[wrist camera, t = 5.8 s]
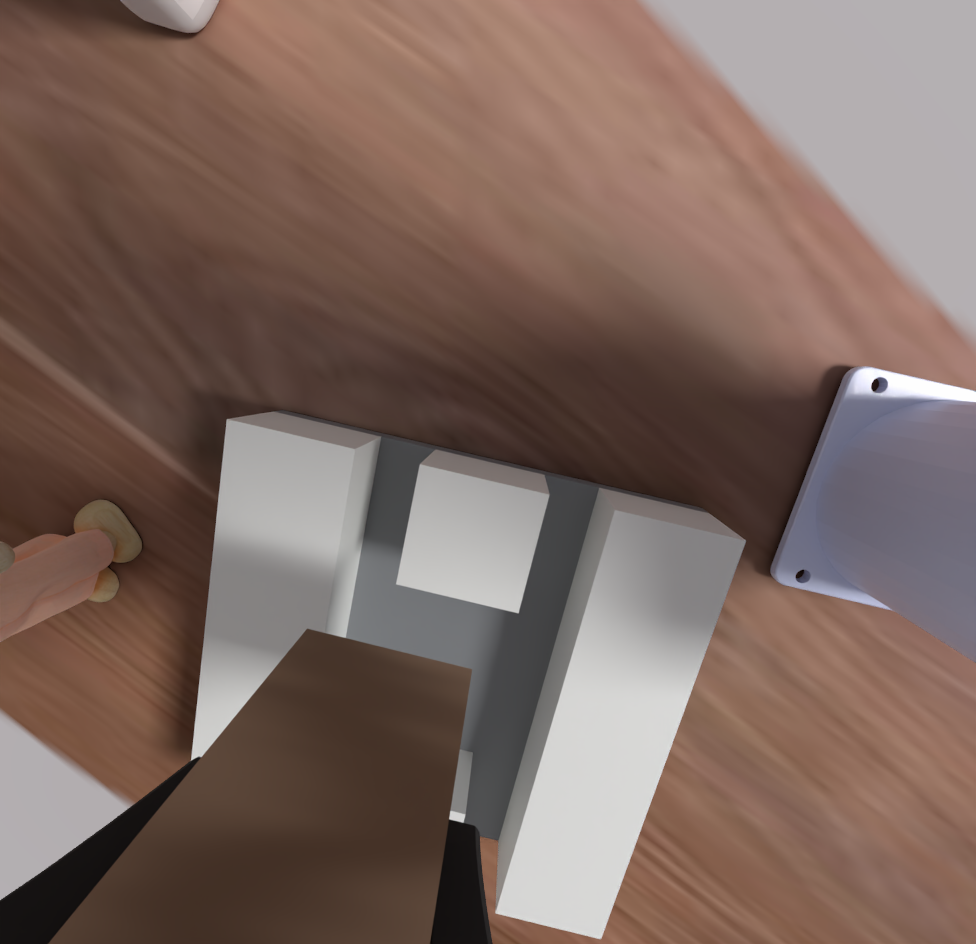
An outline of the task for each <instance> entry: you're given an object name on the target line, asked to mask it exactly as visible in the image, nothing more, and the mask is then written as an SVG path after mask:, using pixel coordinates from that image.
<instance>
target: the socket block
mask: <svg viewBox="0 0 976 944" xmlns="http://www.w3.org/2000/svg"><path fill="white" fill-rule="evenodd" d="M745 543H746V540H745V539H743V538H742V537H741V536H739V535H738V534H737V533H735V532H734V531H732V530H731V529H730V528H728V527H727V526H726V525H724V524H723V523H722V522H720V521H719V520H718V519H716V518H715V517H714V516H712V515H711V514H709V513H708V512H707V511H705V510H704V509H703V508H700V507H696V506H692V505H687V504H683V503H679V502H675V501H670V500H666V499H662V498H657V497H653V496H649V495H645V494H640V493H636V492H632V491H627V490H623V489H619V488H615V487H610V486H606V485H602V484H598V483H593V482H589V481H585V480H580V479H576V478H572V477H568V476H563V475H559V474H555V473H550V472H546V471H542V470H538V469H533V468H529V467H525V466H520V465H516V464H512V463H508V462H503V461H499V460H495V459H490V458H486V457H482V456H478V455H473V454H469V453H465V452H460V451H456V450H452V449H448V448H443V447H439V446H435V445H430V444H426V443H422V442H418V441H413V440H409V439H405V438H401V437H396V436H392V435H388V434H383V433H379V432H375V431H371V430H366V429H362V428H358V427H353V426H349V425H345V424H341V423H336V422H332V421H328V420H323V419H319V418H315V417H311V416H306V415H302V414H298V413H293V412H289V411H285V410H280V411H274V412H267V413H261V414H255V415H249V416H243V417H237V418H230V419H227V422H226V432H225V441H224V451H223V460H222V470H221V479H220V489H219V499H218V508H217V518H216V527H215V537H214V546H213V556H212V565H211V575H210V585H209V594H208V604H207V613H206V623H205V632H204V642H203V652H202V661H201V671H200V680H199V690H198V699H197V709H196V719H195V728H194V738H193V747H192V757H191V760H193V759H195V758H197V757H198V756H199V757H202V756H203V755H204V753H205V752H206V751H207V750H208V749H209V747H210V746H211V745H212V744H213V742H214V741H215V740H216V739H217V738H218V736H219V735H220V734H221V733H222V732H223V730H224V729H225V728H226V727H227V725H228V724H229V723H230V722H231V721H232V719H233V718H234V717H235V716H236V715H237V713H238V712H239V711H240V710H241V708H242V707H243V706H244V705H245V704H246V702H247V701H248V700H249V699H250V697H251V696H252V695H253V694H254V693H255V691H256V690H257V689H258V688H259V687H260V685H261V684H262V683H263V682H264V680H265V679H266V678H267V677H268V676H269V674H270V673H271V672H272V671H273V669H274V668H275V667H276V666H277V665H278V663H279V662H280V661H281V660H282V659H283V657H284V656H285V655H286V654H287V652H288V651H289V650H290V649H291V648H292V646H293V645H294V644H295V643H296V642H297V640H298V639H299V638H300V637H301V635H302V634H303V633H304V632H305V631H306V629H311V630H315V631H319V632H323V633H327V634H331V635H336V636H340V637H344V638H348V639H352V640H356V641H360V642H364V643H368V644H372V645H376V646H380V647H384V648H388V649H392V650H396V651H400V652H404V653H409V654H413V655H417V656H421V657H425V658H429V659H433V660H437V661H441V662H445V663H449V664H453V665H457V666H461V667H465V668H469V669H472V674H471V681H470V687H469V694H468V700H467V707H466V713H465V719H464V726H463V732H462V739H461V745H460V752H459V758H458V765H457V771H456V778H455V784H454V791H453V797H452V804H451V810H450V817H449V819H450V820H454V821H458V822H462V823H466V824H470V825H474V826H476V828H477V829H478V831H479V832H480V836H482V837H486V838H490V839H494V840H498V865H497V889H496V914H501V915H505V916H509V917H513V918H517V919H521V920H525V921H529V922H533V923H537V924H541V925H545V926H549V927H553V928H557V929H561V930H565V931H569V932H573V933H578V934H582V935H586V936H590V937H594V938H598V939H601V937H602V935H603V932H604V929H605V927H606V924H607V921H608V918H609V916H610V913H611V910H612V907H613V905H614V902H615V899H616V896H617V894H618V891H619V888H620V885H621V883H622V880H623V877H624V874H625V872H626V869H627V866H628V863H629V861H630V858H631V855H632V853H633V850H634V847H635V844H636V842H637V839H638V836H639V833H640V831H641V828H642V825H643V822H644V820H645V817H646V814H647V811H648V809H649V806H650V803H651V800H652V798H653V795H654V792H655V789H656V787H657V784H658V781H659V779H660V776H661V773H662V770H663V768H664V765H665V762H666V759H667V757H668V754H669V751H670V748H671V746H672V743H673V740H674V737H675V735H676V732H677V729H678V726H679V724H680V721H681V718H682V715H683V713H684V710H685V707H686V705H687V702H688V699H689V696H690V694H691V691H692V688H693V685H694V683H695V680H696V677H697V674H698V672H699V669H700V666H701V663H702V661H703V658H704V655H705V652H706V650H707V647H708V644H709V642H710V639H711V636H712V633H713V631H714V628H715V625H716V622H717V620H718V617H719V614H720V611H721V609H722V606H723V603H724V600H725V598H726V595H727V592H728V589H729V587H730V584H731V581H732V578H733V576H734V573H735V570H736V568H737V565H738V562H739V559H740V557H741V554H742V551H743V548H744V546H745Z"/></svg>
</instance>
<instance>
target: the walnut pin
mask: <svg viewBox="0 0 976 944" xmlns="http://www.w3.org/2000/svg"><path fill="white" fill-rule="evenodd" d="M471 674H472V669H469V668H465V667H461V666H457V665H453V664H449V663H445V662H441V661H437V660H433V659H429V658H425V657H421V656H417V655H413V654H409V653H404V652H400V651H396V650H392V649H388V648H384V647H380V646H376V645H372V644H368V643H364V642H360V641H356V640H352V639H348V638H344V637H340V636H336V635H331V634H327V633H323V632H319V631H315V630H311V629H306V631H305V632H304V633H303V634H302V635H301V637H300V638H299V639H298V640H297V642H296V643H295V644H294V645H293V646H292V648H291V649H290V650H289V651H288V652H287V654H286V655H285V656H284V657H283V659H282V660H281V661H280V662H279V663H278V665H277V666H276V667H275V668H274V669H273V671H272V672H271V673H270V674H269V676H268V677H267V678H266V679H265V680H264V682H263V683H262V684H261V685H260V687H259V688H258V689H257V690H256V691H255V693H254V694H253V695H252V696H251V697H250V699H249V700H248V701H247V702H246V704H245V705H244V706H243V707H242V708H241V710H240V711H239V712H238V713H237V715H236V716H235V717H234V718H233V719H232V721H231V722H230V723H229V724H228V725H227V727H226V728H225V729H224V730H223V732H222V733H221V734H220V735H219V736H218V738H217V739H216V740H215V741H214V742H213V744H212V745H211V746H210V747H209V749H208V750H207V751H206V752H205V753H204V755H203V756H202V757H201V758H200V760H199V761H198V762H197V763H196V764H195V766H194V767H193V768H192V769H191V770H190V772H189V773H188V774H187V775H186V777H185V778H184V779H183V780H182V781H181V783H180V784H179V785H178V786H177V788H176V789H175V790H174V791H173V792H172V794H171V795H170V796H169V797H168V798H167V800H166V801H165V802H164V803H163V805H162V806H161V807H160V808H159V809H158V811H157V812H156V813H155V814H154V815H153V817H152V818H151V819H150V820H149V822H148V823H147V824H146V825H145V826H144V828H143V829H142V830H141V831H140V833H139V834H138V835H137V836H136V837H135V839H134V840H133V841H132V842H131V843H130V845H129V846H128V847H127V848H126V850H125V851H124V852H123V853H122V854H121V856H120V857H119V858H118V859H117V861H116V862H115V863H114V864H113V865H112V867H111V868H110V869H109V870H108V871H107V873H106V874H105V875H104V876H103V878H102V879H101V880H100V881H99V882H98V884H97V885H96V886H95V887H94V888H93V890H92V891H91V892H90V893H89V895H88V896H87V897H86V898H85V899H84V901H83V902H82V903H81V904H80V906H79V907H78V908H77V909H76V910H75V912H74V913H73V914H72V915H71V916H70V918H69V919H68V920H67V921H66V923H65V924H64V925H63V926H62V927H61V929H60V930H59V931H58V932H57V934H56V935H55V936H54V937H53V938H52V940H51V941H50V942H49V943H48V944H430V940H431V933H432V927H433V920H434V914H435V907H436V901H437V894H438V888H439V881H440V875H441V868H442V862H443V855H444V849H445V842H446V836H447V830H448V823H449V817H450V810H451V804H452V797H453V791H454V784H455V778H456V771H457V765H458V758H459V752H460V745H461V739H462V732H463V726H464V719H465V713H466V707H467V700H468V694H469V687H470V681H471Z"/></svg>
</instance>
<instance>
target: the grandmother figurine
mask: <svg viewBox="0 0 976 944" xmlns="http://www.w3.org/2000/svg"><path fill="white" fill-rule="evenodd" d="M74 530H75V534H73V535H70V536H68V537H65V536H62V535H57V534H44V535H41V536H38V537H36V538H34V539H31V540H29V541H27V542H25V543H23V544H21V545H19V546H17V547H15V548H13V549H12V548H11V547H10V546H9V545H8V544H6V543H4V542H2V541H0V642H2V641H3V640H5V639H6V638H8V637H10V636H12V635H14V634H16V633H18V632H21V631H23V630H25V629H27V628H29V627H31V626H34V625H36V624H38V623H40V622H42V621H43V620H45V619H47V618H49V617H51V616H54V615H56V614H58V613H60V612H62V611H65V610H67V609H69V608H71V607H73V606H75V605H77V604H79V603H80V602H82V601H84V600H86V599H88V600H90V601H94V602H106V601H109V600H111V599H112V598H113V597H114V596H115V594H116V593H117V590H118V588H119V580H118V578H117V575H116V574H115V573H114V572H113V571H112V570H111V569H109V568H108V567H107V566H109V565H110V563H111V562H112V561H113V562H118V563H124V562H128V561H131V560H133V559H134V558H135V557H137V556H138V554H139V553H140V552H141V550H142V541H141V539H140V537H139V535H138V533H137V532H136V530H135V529H134V528H133V526H132V525H131V523H130V522H129V521H128V519H127V518H126V516H125V515H124V514H123V512H122V511H121V510H120V509H119V508H118V507H117V506H116V505H115V504H113V503H111V502H109V501H107V500H96V501H92V502H90V503H89V504H87V505H86V506H84V507H83V508H82V509H81V510H80V511H79V512H78V513H77V515H76V517H75V520H74Z"/></svg>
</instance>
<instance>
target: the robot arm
mask: <svg viewBox="0 0 976 944" xmlns="http://www.w3.org/2000/svg"><path fill="white" fill-rule="evenodd" d="M876 378H877V379H878V381H879V387H878V388H877V390H876V391H874V392H873V391H872V389H871V383H872V382H873V381H874V379H876ZM800 570H804V574H803V576H802V577H800V578H796V574H797V572H798V571H800ZM770 572H771V575H772V577H773V578H774V579H775V580H776V581H777V582H779V583H781V584H783V585H786V586H790V587H794V588H799V589H803V590H807V591H811V592H816V593H820V594H824V595H828V596H833V597H837V598H841V599H845V600H850V601H854V602H858V603H862V604H867V605H871V606H875V607H879V608H884V609H888V610H892V611H895V612H896V613H898V614H900V615H901V616H903V617H904V618H906V619H907V620H909V621H911V622H912V623H914V624H915V625H917V626H918V627H920V628H922V629H923V630H925V631H926V632H928V633H929V634H931V635H933V636H934V637H936V638H937V639H939V640H940V641H942V642H944V643H945V644H947V645H948V646H950V647H951V648H953V649H955V650H956V651H958V652H959V653H961V654H962V655H964V656H966V657H967V658H969V659H970V660H972V661H974V662H975V663H976V391H974V390H969V389H965V388H960V387H956V386H952V385H947V384H943V383H939V382H934V381H930V380H925V379H921V378H917V377H912V376H908V375H903V374H899V373H895V372H890V371H886V370H882V369H877V368H873V367H855V368H852V369H850V370H849V371H848V372H847V373H846V374H845V375H844V377H843V379H842V382H841V384H840V387H839V389H838V392H837V395H836V397H835V400H834V403H833V405H832V408H831V410H830V413H829V416H828V418H827V421H826V424H825V426H824V429H823V431H822V434H821V437H820V439H819V442H818V444H817V447H816V450H815V452H814V455H813V458H812V460H811V463H810V465H809V468H808V471H807V473H806V476H805V479H804V481H803V484H802V486H801V489H800V492H799V494H798V497H797V500H796V502H795V505H794V507H793V510H792V513H791V515H790V518H789V520H788V523H787V526H786V528H785V531H784V534H783V536H782V539H781V541H780V544H779V547H778V549H777V552H776V555H775V557H774V560H773V562H772V565H771V570H770ZM200 758H201V757H199V756H198V757H197V758H195V759H193V760H191V761H190V762H189V763H187V764H186V765H185V766H184V767H182V768H181V769H180V770H178V771H177V772H176V773H175V774H173V775H172V776H171V777H169V778H168V779H167V780H165V781H164V782H163V783H162V784H160V785H159V786H158V787H156V788H155V789H154V790H152V791H151V792H150V793H149V794H147V795H146V796H145V797H143V798H142V799H141V800H139V801H138V802H137V803H135V804H134V805H133V806H131V807H130V808H129V809H127V810H126V811H125V812H123V813H122V814H121V815H120V816H118V817H117V818H116V819H114V820H113V821H112V822H110V823H109V824H108V825H106V826H105V827H103V828H102V829H101V830H99V831H98V832H96V833H95V834H94V835H92V836H91V837H90V838H88V839H87V840H85V841H84V842H83V843H81V844H80V845H79V846H77V847H76V848H74V849H73V850H72V851H70V852H69V853H67V854H66V855H65V856H63V857H62V858H61V859H59V860H58V861H57V862H55V863H54V864H52V865H51V866H49V867H48V868H47V869H45V870H44V871H42V872H41V873H40V874H38V875H37V876H35V877H34V878H32V879H31V880H29V881H28V882H26V883H25V884H24V885H22V886H21V887H19V888H18V889H16V890H15V891H13V892H12V893H10V894H9V895H7V896H6V897H5V898H3V899H1V900H0V944H48V943H49V942H50V941H51V940H52V938H53V937H54V936H55V935H56V934H57V932H58V931H59V930H60V929H61V927H62V926H63V925H64V924H65V923H66V921H67V920H68V919H69V918H70V916H71V915H72V914H73V913H74V912H75V910H76V909H77V908H78V907H79V906H80V904H81V903H82V902H83V901H84V899H85V898H86V897H87V896H88V895H89V893H90V892H91V891H92V890H93V888H94V887H95V886H96V885H97V884H98V882H99V881H100V880H101V879H102V878H103V876H104V875H105V874H106V873H107V871H108V870H109V869H110V868H111V867H112V865H113V864H114V863H115V862H116V861H117V859H118V858H119V857H120V856H121V854H122V853H123V852H124V851H125V850H126V848H127V847H128V846H129V845H130V843H131V842H132V841H133V840H134V839H135V837H136V836H137V835H138V834H139V833H140V831H141V830H142V829H143V828H144V826H145V825H146V824H147V823H148V822H149V820H150V819H151V818H152V817H153V815H154V814H155V813H156V812H157V811H158V809H159V808H160V807H161V806H162V805H163V803H164V802H165V801H166V800H167V798H168V797H169V796H170V795H171V794H172V792H173V791H174V790H175V789H176V788H177V786H178V785H179V784H180V783H181V781H182V780H183V779H184V778H185V777H186V775H187V774H188V773H189V772H190V770H191V769H192V768H193V767H194V766H195V764H196V763H197V762H198V761H199V760H200ZM430 944H492V938H491V932H490V926H489V920H488V913H487V906H486V899H485V892H484V883H483V875H482V865H481V852H480V832H479V831H478V829H477V828H476V826H474V825H470V824H466V823H462V822H458V821H454V820H450V819H449V823H448V830H447V836H446V842H445V849H444V855H443V862H442V868H441V875H440V881H439V888H438V894H437V901H436V907H435V914H434V920H433V927H432V933H431V940H430Z"/></svg>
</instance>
